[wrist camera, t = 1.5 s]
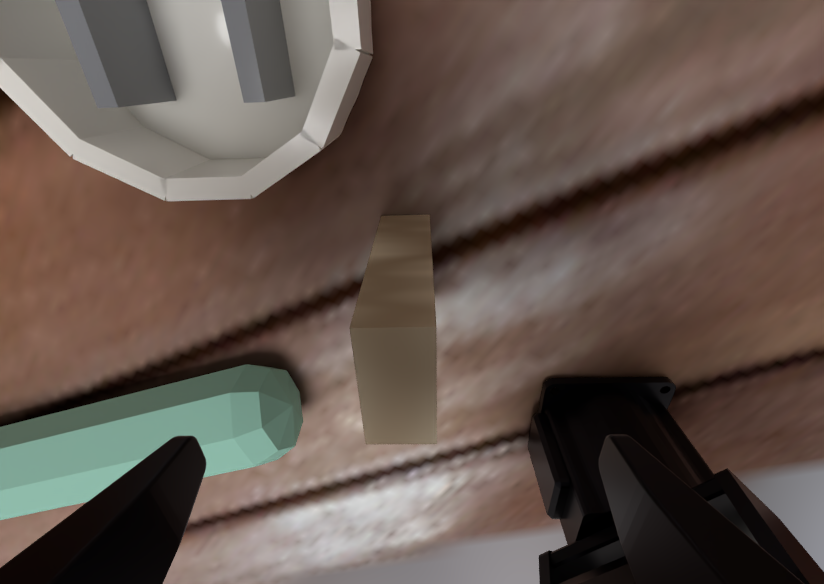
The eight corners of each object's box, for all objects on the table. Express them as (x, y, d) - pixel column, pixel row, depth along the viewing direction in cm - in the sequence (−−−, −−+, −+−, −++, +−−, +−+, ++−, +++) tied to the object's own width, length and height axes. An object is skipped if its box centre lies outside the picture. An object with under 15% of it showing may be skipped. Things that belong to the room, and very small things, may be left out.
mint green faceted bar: (245, 452, 14) (-231, 555, 18) (318, 484, 19) (-74, 561, 23) (265, 322, 18) (-133, 430, 22) (322, 375, 23) (-15, 457, 26)
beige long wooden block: (429, 214, 16) (436, 326, 9) (430, 298, 18) (436, 444, 11) (381, 215, 16) (349, 327, 9) (387, 299, 18) (365, 444, 11)
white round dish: (353, -250, 10) (324, -388, 7) (382, 170, 15) (373, 195, 12) (-41, -223, 10) (-230, -344, 7) (121, 178, 15) (49, 204, 12)
